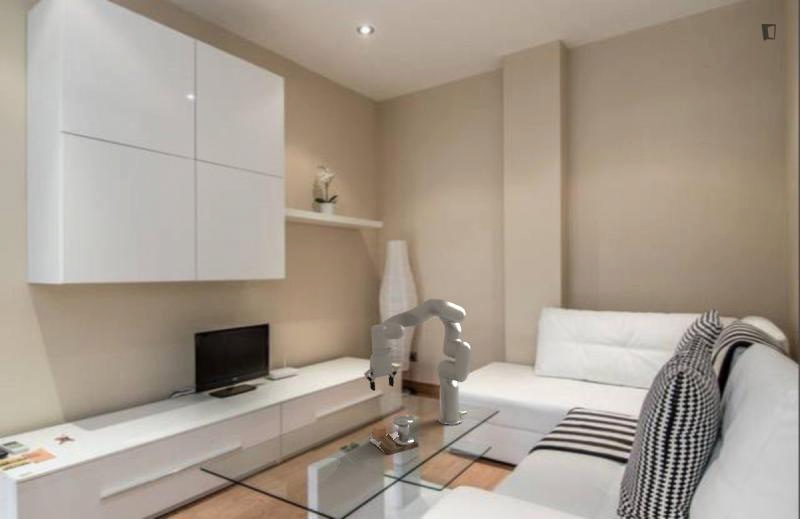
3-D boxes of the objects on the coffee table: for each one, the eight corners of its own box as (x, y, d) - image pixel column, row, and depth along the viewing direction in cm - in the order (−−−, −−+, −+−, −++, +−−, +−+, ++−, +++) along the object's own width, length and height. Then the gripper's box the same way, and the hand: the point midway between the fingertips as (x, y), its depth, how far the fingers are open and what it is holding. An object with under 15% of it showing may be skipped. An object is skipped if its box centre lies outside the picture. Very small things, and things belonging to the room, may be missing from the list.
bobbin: (407, 436, 210) (406, 415, 210) (417, 442, 202) (417, 420, 202) (390, 440, 206) (390, 418, 206) (400, 447, 198) (399, 424, 198)
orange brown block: (381, 437, 210) (381, 424, 210) (386, 440, 206) (385, 427, 206) (373, 439, 207) (372, 426, 207) (377, 442, 204) (377, 429, 204)
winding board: (398, 433, 217) (398, 425, 217) (418, 446, 202) (418, 437, 202) (369, 441, 210) (368, 432, 210) (387, 455, 194) (386, 445, 194)
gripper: (392, 347, 217) (394, 382, 217) (360, 353, 208) (362, 389, 208) (400, 350, 210) (402, 386, 211) (367, 355, 202) (369, 393, 202)
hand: (382, 387), depth 209 cm, fingers open, 9 cm apart
